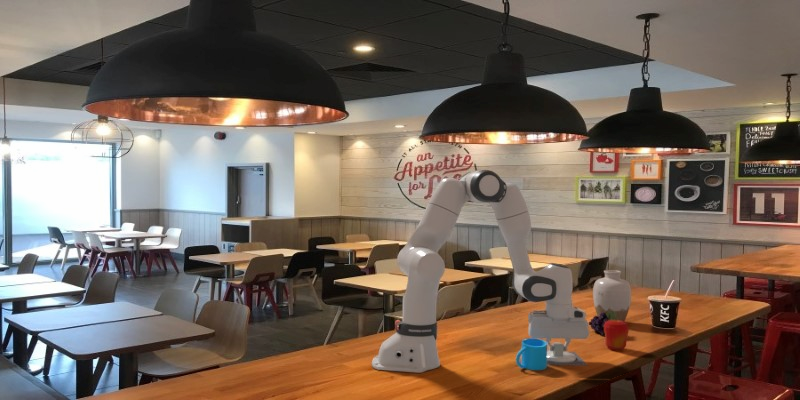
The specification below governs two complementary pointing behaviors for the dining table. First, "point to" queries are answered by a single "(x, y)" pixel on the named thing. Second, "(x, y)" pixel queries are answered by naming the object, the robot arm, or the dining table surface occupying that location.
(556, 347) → the lid
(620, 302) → the vase
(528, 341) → the mug
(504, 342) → the dining table surface
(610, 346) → the apple
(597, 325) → the fruit
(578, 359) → the mat
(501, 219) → the robot arm
